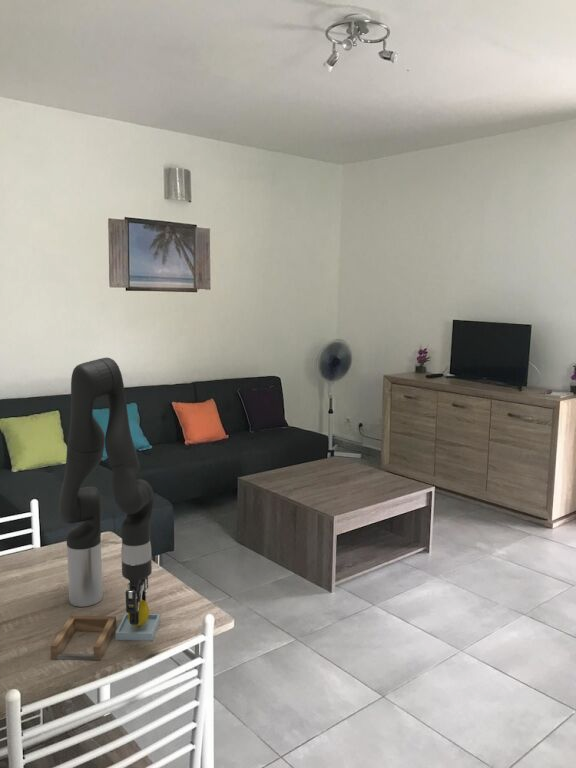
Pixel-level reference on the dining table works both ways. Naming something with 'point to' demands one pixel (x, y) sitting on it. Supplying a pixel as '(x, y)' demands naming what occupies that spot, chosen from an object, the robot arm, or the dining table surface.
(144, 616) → the lemon
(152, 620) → the dish
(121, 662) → the dining table surface
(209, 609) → the dining table surface
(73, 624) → the wooden letter tray
